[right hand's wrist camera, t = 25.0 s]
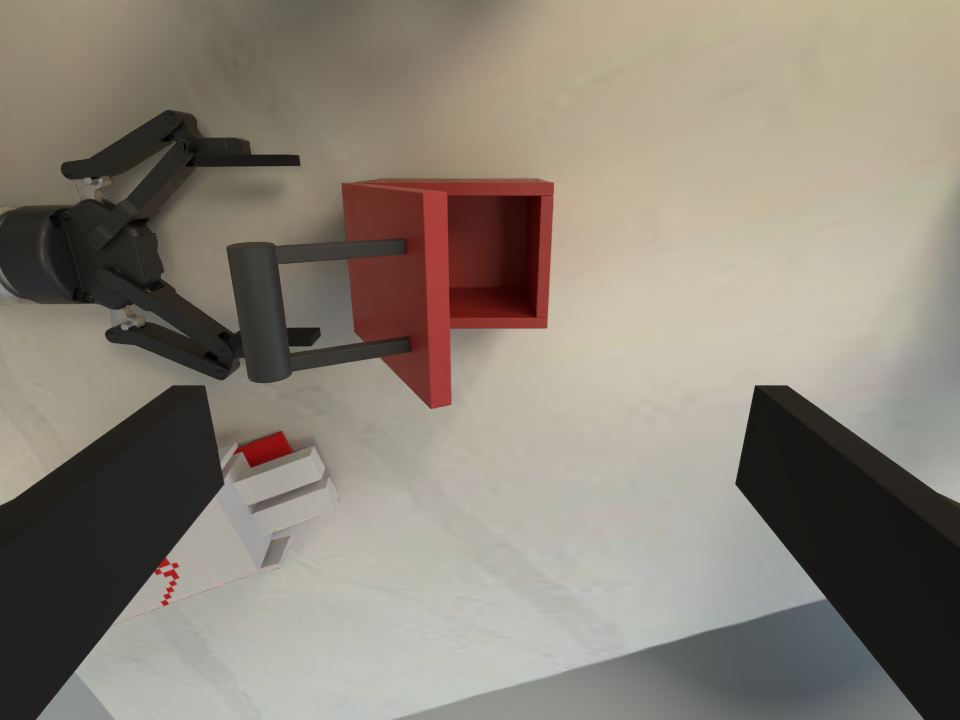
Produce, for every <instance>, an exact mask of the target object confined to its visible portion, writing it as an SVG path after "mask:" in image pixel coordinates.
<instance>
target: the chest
mask: <svg viewBox="0 0 960 720" xmlns="http://www.w3.org/2000/svg"><path fill="white" fill-rule="evenodd" d="M354 183H364V184H374V185H384V186H394V187H403V188H413V189H423V190H432V191H442V192H447V215H448V264H449V312H450V328H547V320H548V318H547V317H548V300H549V279H550V258H551V236H552V215H553V194H554V183H552V182H548V181H543V180H539V179H377V180H369V181H362V182H354Z"/></svg>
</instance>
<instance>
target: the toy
mask: <svg viewBox="0 0 960 720" xmlns="http://www.w3.org/2000/svg"><path fill="white" fill-rule="evenodd" d="M237 447H238V444H237V443H236V442H233V443H231V444H229V445H227V446H225V447H222V448H220V449H218V453H219V458H220V463H221V468H222V473H223V478H224V483H225V484H224V486H223V487H222V488H221V489H220V491H219V492H218V493H217V494H216V496H215V497H214V498H213V499H212V501H211V502H210V503H209V504H208V506H207V507H206V508H205V509H204V511H203V512H202V513H201V514H200V516H199V517H198V518H197V519H196V521H195V522H194V523H193V524H192V526H191V527H190V528H189V529H188V531H187V532H186V533H185V534H184V536H183V537H182V538H181V539H180V540H179V542H178V543H177V544H176V545H175V547H174V548H173V549H172V550H171V552H170V553H169V554H168V555H167V557H166V558H165V559H164V560H163V562H162V563H161V564H160V565H159V567H158V568H157V569H156V570H155V572H154V573H153V574H152V575H151V577H150V578H149V579H148V580H147V582H146V583H145V584H144V585H143V587H142V588H141V589H140V590H139V592H138V593H137V594H136V595H135V597H134V598H133V599H132V600H131V602H130V603H129V604H128V605H127V607H126V608H125V609H124V610H123V612H122V613H121V614H120V615H119V617H118V618H117V619H116V620H115V622H114V623H113V624H116V623H119V622H121V621H124V620H127V619H130V618H132V617H135V616H138V615H141V614H143V613H146V612H149V611H152V610H154V609H157V608H160V607H162V606H165V605H168V604H171V603H173V602H176V601H179V600H182V599H184V598H187V597H190V596H193V595H195V594H198V593H201V592H204V591H206V590H209V589H212V588H214V587H217V586H220V585H223V584H225V583H228V582H231V581H235V580H239V579H242V578H246V577H250V576H253V575H257V574H261V573H264V572H268V571H272V570H275V569H279V568H281V567H282V564H283V562H284V559H285V557H286V554H287V552H288V549H289V547H290V544H291V541H292V539H291V537H290V536H288V537H284V538H281V539H277V540H273V541H271V539H272V537H273V534H274V532H277V531H280V530H282V529H285V528H288V527H291V526H293V525H296V524H299V523H302V522H304V521H307V520H310V519H313V518H315V517H318V516H321V515H324V514H326V513H329V512H332V511H335V510H337V508H338V503H339V499H340V497H339V495H338V493H337V491H336V489H335V487H334V485H333V483H332V481H331V479H330V477H329V476H328V477H325V478H322V476H323V473H324V470H325V467H324V465H323V463H322V461H321V459H320V457H319V455H318V453H317V451H316V449H315V447H314V445H313V446H311V447H308V448H305V449H302V450H300V451H297V452H294V453H293V451H292V449H291V447H290V446H289V444H288V442H287V440H286V438H285V436H284V435H283V433H282V431H281V432H279V433H276V434H273V435H271V436H268V437H266V438H263V439H261V440H258V441H256V442H253V443H251V444H248V445H246V446H243V447H240V448H238V449H237ZM113 624H112V625H113Z"/></svg>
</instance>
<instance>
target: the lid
mask: <svg viewBox="0 0 960 720" xmlns="http://www.w3.org/2000/svg"><path fill="white" fill-rule="evenodd" d="M342 194H343V206H344V217H345V229H346V240H347V242H331V243H315V244H299V245H283V246H275V244H273V243H269V242H247V243H237V244H232V245H229V246H227V254H228V260H229V266H230V272H231V278H232V284H233V290H234V296H235V302H236V308H237V314H238V320H239V326H240V332H241V338H242V344H243V350H244V356H245V362H246V368H247V374H248V378H249V380H250V381H252V382H256V383H271V382H277V381H280V380H283V379H286V378H288V377H289V376H290V375H291V374H292V371H298V370H304V369H310V368H317V367H323V366H329V365H335V364H341V363H347V362H353V361H359V360H365V359H372V358H378V357H380V358H381V359H382V360H383V361H384V362H385V363H386V364H387V365H388V366H389V367H390V368H391V369H392V370H393V371H394V372H395V373H396V374H397V375H398V376H399V377H400V378H401V379H402V380H403V381H404V382H405V384H406V385H407V386H408V387H409V388H410V389H411V390H412V391H413V392H414V393H415V394H416V395H417V396H418V397H419V398H420V399H421V400H422V401H423V402H424V403H425V404H426V405H427V406H428V407H429V408H430V409H433V408H438V407H442V406H447V405H451V361H450V312H449V264H448V215H447V192H442V191H432V190H423V189H413V188H403V187H394V186H384V185H374V184H364V183H342ZM339 259H348V263H349V274H350V286H351V297H352V309H353V320H354V332H355V333H356V334H357V335H358V336H359V337H360V338H361V339H362V340H363V341H364V342H363V343H356V344H349V345H342V346H336V347H329V348H322V349H315V350H309V351H302V352H295V353H290V351H289V343H288V336H287V328H286V321H285V313H284V306H283V299H282V291H281V284H280V276H279V269H278V264H287V263H300V262H313V261H326V260H339Z"/></svg>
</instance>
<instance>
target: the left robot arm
mask: <svg viewBox="0 0 960 720" xmlns="http://www.w3.org/2000/svg"><path fill="white" fill-rule="evenodd" d="M175 141H177V142H176V143H175V144H174V146H173V147H172V148H171V149H170V150H169V151H168V152H167V154H166V155H165V156H164V157H163V158H162V159H161V160H160V161H159V163H158V164H157V165H156V166H155V167H154V168H153V169H152V170H151V172H150V173H149V174H148V175H147V176H146V177H145V178H144V179H143V181H142V182H141V183H140V184H139V185H138V186H137V187H136V188H135V190H134V191H133V192H132V193H131V194H130V195H129V196H128V197H127V198H126V199H125V200H124V201H122V202H120V203H118V204H117V205H114V204H113V203H111V202H110V201H108V200H106V199H103V197H102V192H103V190H104V189H106V188H108V187H109V186H110V184H111V183H112V182H113V179H112V178H111V177H112V176H117V175H120V174H122V173H124V172H126V171H128V170H129V169H131V168H133V167H134V166H136V165H138V164H139V163H141V162H142V161H144V160H146V159H147V158H149V157H151V156H152V155H154V154H155V153H157V152H159V151H160V150H162V149H164V148H165V147H167V146H169V145H170V144H172V143H173V142H175ZM225 166H300V158H299V155H251V150H250V144H249V141H246V140H244V139H240V138H205V137H203V136H202V135H201V134H200V132H199V130H198V128H197V121H196V118H195V117H194V116H193V115H191V114H189V113H184V112H179V111H173V110H166V111H164V112H163V113H161V114H159V115H158V116H156V117H155V118H153V119H151V120H150V121H148V122H147V123H145V124H144V125H142V126H140V127H139V128H137V129H136V130H134V131H132V132H131V133H129V134H128V135H126V136H124V137H123V138H121V139H120V140H118V141H116V142H115V143H113V144H112V145H110V146H108V147H107V148H105V149H104V150H102V151H101V152H99V153H97V154H96V155H94V156H93V157H91V158H89V159H84V160H77V161H70V162H65V163H63V164H62V165H61V172H62V174H63V175H64V176H65V177H66V178H68V179H72V180H75V183H76V186H77V189H78V191H79V194H80V197H81V199H82V201H80V202H79V203H78V204H76V205H63V206H23V207H19V206H0V304H37V303H40V304H100V305H102V306H105V307H107V308H109V309H110V313H111V320H112V328H110V329H108V330H107V331H106V332H105V336H106V338H107V340H108V341H110V342H112V343H119V344H129V345H136V346H139V347H141V348H143V349H146V350H148V351H151V352H153V353H155V354H158V355H160V356H163V357H165V358H167V359H170V360H172V361H175V362H177V363H179V364H182V365H184V366H187V367H189V368H191V369H194V370H196V371H199V372H201V373H203V374H206V375H208V376H211V377H213V378H215V379H218V380H224V379H226V378H227V377H228V376H230V375H231V374H232V373H233V372H234V371H235V370H237V369H238V368H239V366H240V362H239V358H245V356H244V350H243V344H242V338H241V332H240V331H238V332H237V333H235V334H234V333H232V332H231V331H230V330H228V329H227V328H225V327H224V326H222V325H221V324H220V323H218V322H217V321H215V320H214V319H212V318H211V317H210V316H208V315H207V314H205V313H204V312H202V311H201V310H200V309H198V308H197V307H195V306H194V305H192V304H191V303H190V302H188V301H187V300H185V299H184V298H182V297H181V296H180V295H178V294H177V293H176V290H175V289H174V288H173V287H172V286H170V285H169V284H168V283H166V282H165V281H163V280H162V279H160V277H161V273H163V272H164V269H163V265H162V262H161V260H160V258H159V255H158V253H157V247H158V242H157V237H156V233H152V232H151V230H150V229H149V227H148V226H147V225H148V224H149V223H150V222H151V220H152V219H153V218H154V217H155V216H156V215H157V214H158V212H159V211H158V210H159V208H160V207H161V206H162V205H163V204H164V203H165V202H166V201H167V199H168V198H169V197H170V196H171V195H172V194H173V193H174V192H175V191H176V190H177V189H178V187H179V186H180V185H181V184H182V183H183V182H184V181H185V180H186V179H187V178H188V176H189V175H190V174H191V173H192V172H193V171H194V170H195V169H196V168H197V167H225ZM149 290H150V291H151V292H147V291H149ZM132 304H136V305H137V306H138V307H140V308H141V309H143V310H146V311H151V312H153V313H155V314H156V315H158V316H159V317H161V318H162V319H164V320H165V321H167V322H168V323H170V324H171V325H173V326H174V327H175V328H177V329H178V330H180V331H181V332H183V333H184V334H186V335H187V336H189V337H190V338H188V337H186V336H184V335H181V334H179V333H177V332H174V331H172V330H170V329H167V328H165V327H162V326H160V325H157V324H154V323H149V322H146V319H145V317H143V316H139V315H136V314H134V313H132V312H131V310H130V308H129V306H130V305H132ZM287 336H288V343H289V346H312V345H313V344H314V343H315V342H316V341H317V340H318V339H319V337H320V336H321V334H320V328H287ZM191 338H192V339H191Z"/></svg>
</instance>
